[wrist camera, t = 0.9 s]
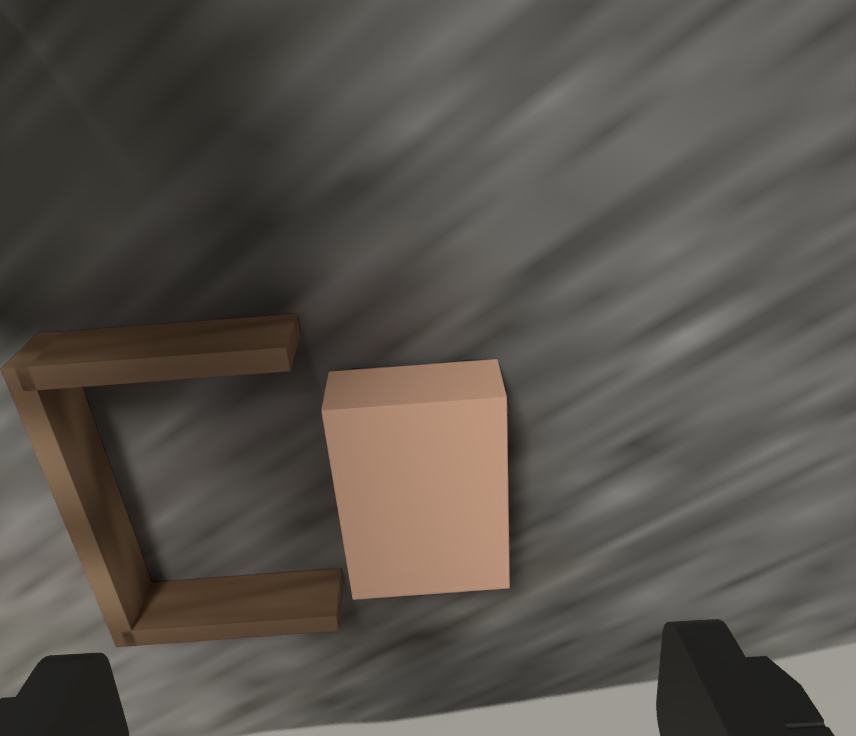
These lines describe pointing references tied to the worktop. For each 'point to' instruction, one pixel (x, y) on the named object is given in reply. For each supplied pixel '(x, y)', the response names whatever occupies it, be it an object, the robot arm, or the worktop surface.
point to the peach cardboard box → (420, 476)
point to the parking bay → (99, 495)
